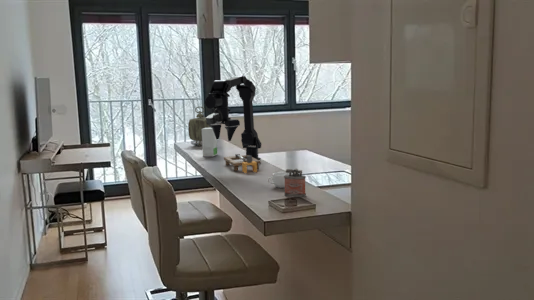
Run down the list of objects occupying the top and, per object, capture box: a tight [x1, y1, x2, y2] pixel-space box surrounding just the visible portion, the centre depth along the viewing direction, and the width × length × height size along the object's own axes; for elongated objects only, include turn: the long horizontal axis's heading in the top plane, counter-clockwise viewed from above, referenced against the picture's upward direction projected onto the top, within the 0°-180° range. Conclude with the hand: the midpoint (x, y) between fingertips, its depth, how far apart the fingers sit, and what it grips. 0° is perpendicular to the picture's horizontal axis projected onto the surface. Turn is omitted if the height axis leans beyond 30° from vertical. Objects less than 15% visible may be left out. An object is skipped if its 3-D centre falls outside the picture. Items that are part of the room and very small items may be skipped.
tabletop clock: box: [187, 106, 211, 146], centre depth 323 cm, size 14×9×25 cm, turn 66°
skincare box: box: [201, 128, 218, 158], centre depth 283 cm, size 8×7×16 cm
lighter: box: [284, 168, 307, 198], centre depth 186 cm, size 8×3×10 cm, turn 71°
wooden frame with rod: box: [223, 154, 261, 172], centre depth 247 cm, size 20×13×4 cm, turn 18°
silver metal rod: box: [234, 153, 247, 162], centre depth 246 cm, size 16×2×1 cm, turn 18°
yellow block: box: [241, 156, 258, 174], centre depth 233 cm, size 4×6×8 cm, turn 108°
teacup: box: [267, 171, 293, 189], centre depth 201 cm, size 10×8×5 cm
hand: (223, 140), depth 239 cm, fingers open, 9 cm apart
